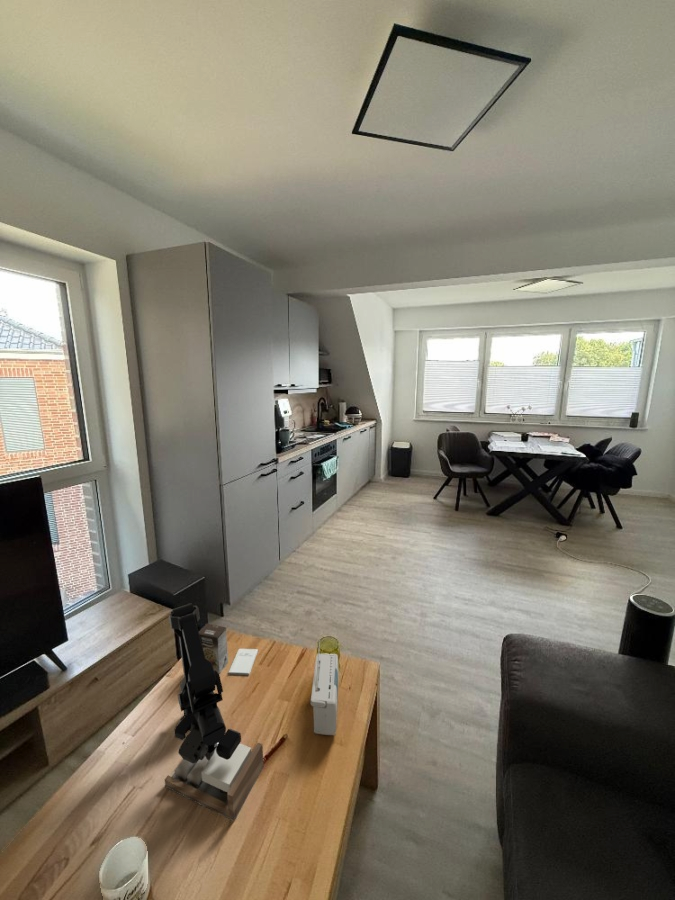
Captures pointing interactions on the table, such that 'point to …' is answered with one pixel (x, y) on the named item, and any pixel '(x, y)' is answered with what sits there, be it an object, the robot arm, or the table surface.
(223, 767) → the slab
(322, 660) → the stereo radio cassette player
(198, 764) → the track
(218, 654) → the coffee box
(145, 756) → the table surface
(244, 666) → the external hard drive
